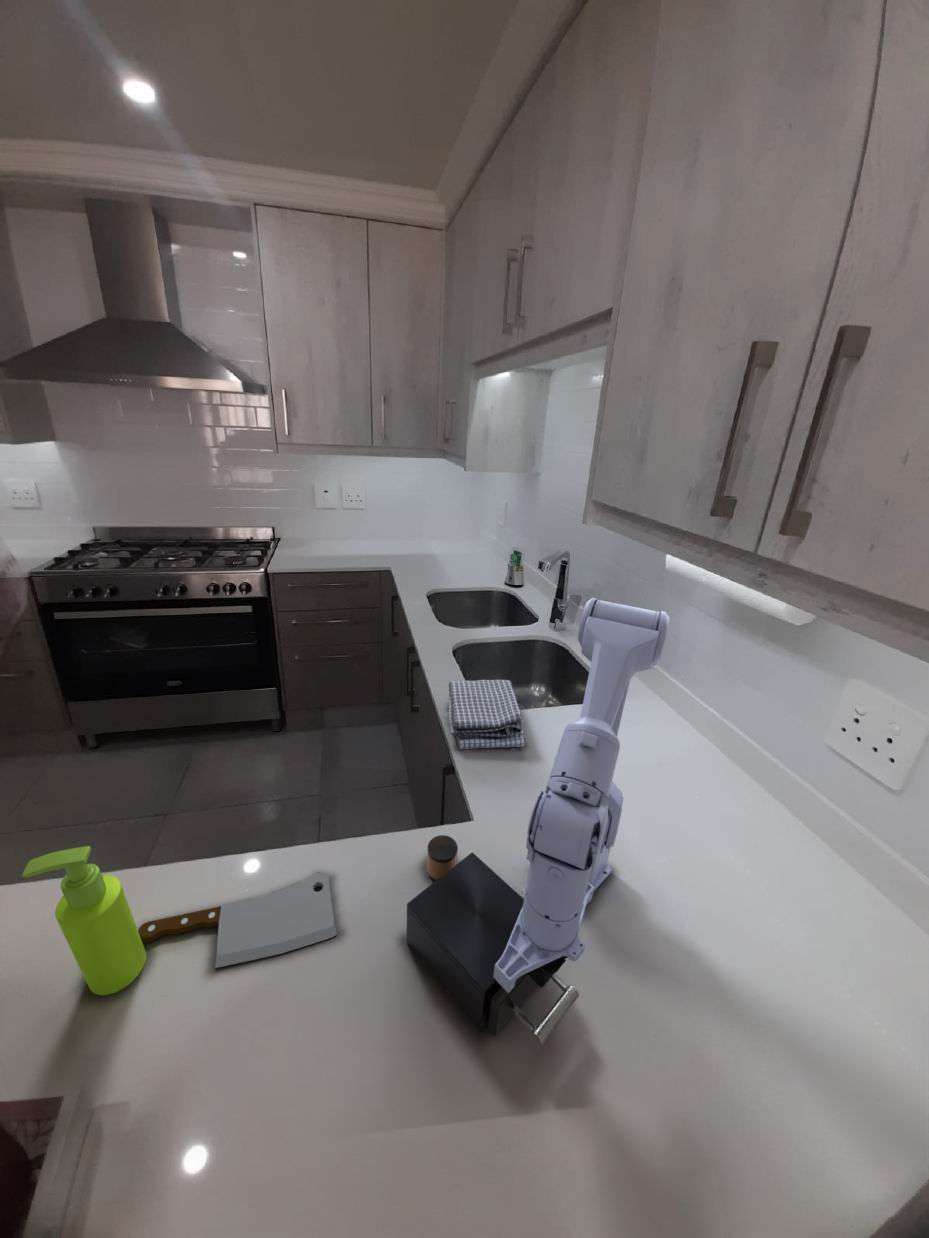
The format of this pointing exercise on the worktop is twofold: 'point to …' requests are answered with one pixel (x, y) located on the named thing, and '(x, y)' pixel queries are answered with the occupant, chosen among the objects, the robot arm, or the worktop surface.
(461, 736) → the towel
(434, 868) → the spice tin
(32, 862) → the soap dispenser
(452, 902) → the black drawer cabinet
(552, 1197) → the worktop surface
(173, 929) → the kitchen cleaver
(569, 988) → the drawer
